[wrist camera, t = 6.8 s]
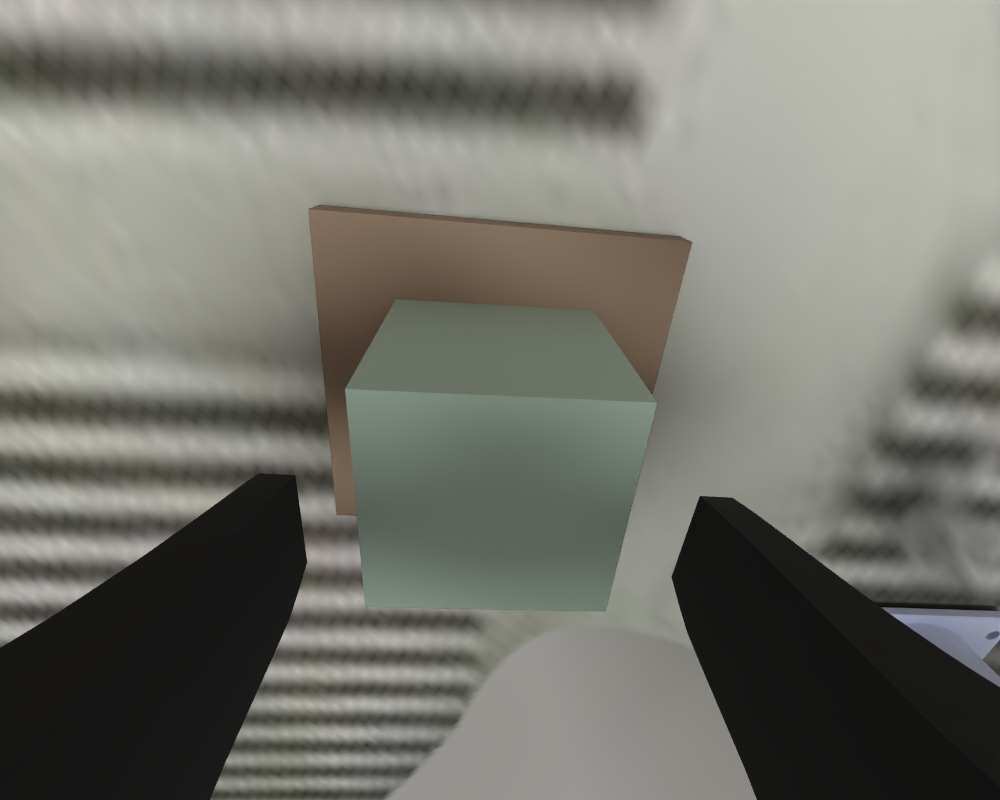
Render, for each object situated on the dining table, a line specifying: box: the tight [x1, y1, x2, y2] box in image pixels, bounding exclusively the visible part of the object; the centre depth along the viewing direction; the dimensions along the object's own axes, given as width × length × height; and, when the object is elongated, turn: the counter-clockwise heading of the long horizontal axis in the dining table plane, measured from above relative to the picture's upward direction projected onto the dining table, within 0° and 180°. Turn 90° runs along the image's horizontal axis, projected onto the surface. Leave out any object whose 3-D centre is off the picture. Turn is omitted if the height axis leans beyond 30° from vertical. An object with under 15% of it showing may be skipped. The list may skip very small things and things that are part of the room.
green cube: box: [345, 299, 657, 611], centre depth 11 cm, size 5×5×5 cm
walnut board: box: [308, 205, 692, 516], centre depth 14 cm, size 9×9×1 cm
